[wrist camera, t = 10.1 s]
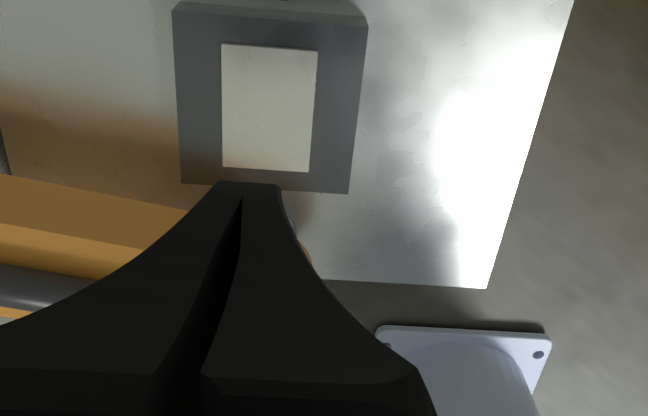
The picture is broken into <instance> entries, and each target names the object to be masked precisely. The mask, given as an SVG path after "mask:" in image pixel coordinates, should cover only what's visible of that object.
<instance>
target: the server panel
mask: <svg viewBox="0 0 648 416" xmlns="http://www.w3.org/2000/svg"><path fill="white" fill-rule="evenodd" d="M573 2H574V0H0V128H1V132H2V137H3V141H4V145H5V149H6V153H7V158H8V162H9V166H10V170H11V175H12V176H17V177H22V178H27V179H32V180H37V181H42V182H47V183H52V184H57V185H62V186H67V187H72V188H77V189H82V190H87V191H92V192H97V193H102V194H107V195H112V196H117V197H122V198H127V199H132V200H137V201H142V202H147V203H152V204H157V205H162V206H167V207H172V208H177V209H182V210H187V211H190V210H191V209H192V208H193V207H194V206H195V205H196V204H197V203H198V201H199V200H200V199H201V198H202V197H203V196H204V195H205V194H206V193H207V192H208V191H209V190H210V189H211V187H212V186H213V185H214V184H216V183H217V182H218V181H219V180H221V181H236V182H250V183H265V184H277V185H278V186H279V187H280V189H281V195H282V201H283V205H284V208H285V211H286V214H287V217H288V219H289V222H290V224H291V227H292V229H293V231H294V233H295V235H296V237H297V240H298V241H300V242H301V243H302V244H303V246H304V247H305V248H306V250H307V251H308V253H309V255H310V257H311V261H312V266H313V268H314V269H315V271H316V272H317V274H318V275H319V277H320V278H321V279H330V280H347V281H364V282H382V283H399V284H416V285H433V286H450V287H468V288H485V289H486V286H487V283H488V279H489V276H490V273H491V270H492V266H493V263H494V260H495V257H496V253H497V250H498V247H499V244H500V240H501V237H502V234H503V231H504V227H505V224H506V221H507V218H508V214H509V211H510V208H511V204H512V201H513V198H514V195H515V191H516V188H517V185H518V182H519V178H520V175H521V172H522V169H523V165H524V162H525V159H526V156H527V152H528V149H529V146H530V143H531V139H532V136H533V133H534V130H535V126H536V123H537V120H538V116H539V113H540V110H541V107H542V103H543V100H544V97H545V94H546V90H547V87H548V84H549V81H550V77H551V74H552V71H553V68H554V64H555V61H556V58H557V55H558V51H559V48H560V45H561V41H562V38H563V35H564V32H565V28H566V25H567V22H568V19H569V15H570V12H571V9H572V6H573Z"/></svg>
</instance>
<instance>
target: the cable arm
mask: <svg viewBox="0 0 648 416" xmlns="http://www.w3.org/2000/svg"><path fill="white" fill-rule="evenodd" d="M188 212H189V211H187V210H182V209H177V208H172V207H167V206H162V205H157V204H152V203H147V202H142V201H137V200H132V199H127V198H122V197H117V196H112V195H107V194H102V193H97V192H92V191H87V190H82V189H77V188H72V187H67V186H62V185H57V184H52V183H47V182H42V181H37V180H32V179H27V178H22V177H17V176H12V175H7V174H2V173H0V316H4V317H10V318H16V319H19V318H21V317H24V316H26V315H29V314H31V313H33V312H36V311H38V310H40V309H43V308H45V307H47V306H49V305H52V304H54V303H56V302H58V301H60V300H62V299H64V298H67V297H69V296H71V295H73V294H74V293H76V292H78V291H80V290H82V289H84V288H85V287H87V286H89V285H91V284H93V283H94V282H96V281H98V280H100V279H102V278H104V277H105V276H107V275H109V274H111V273H112V272H114V271H115V270H117V269H118V268H120V267H122V266H123V265H125V264H126V263H128V262H129V261H131V260H132V259H134V258H135V257H136V256H138V255H139V254H140V253H142V252H143V251H144V250H146V249H147V248H148V247H149V246H151V245H152V244H153V243H154V242H155V241H157V240H158V239H159V238H160V237H161V236H163V235H164V234H165V233H166V232H167V231H168V230H170V229H171V228H172V227H173V226H174V225H175V224H176V223H177V222H178V221H179V220H180V219H181V218H182V217H183V216H184V215H186V214H187V213H188ZM298 242H299V243H300V245H301V247H302V249H303V251H304V253H305V254H306V256H307V258H308V260H309V261H310V263H311V265H312V261H311V257H310V255H309V253H308V251H307V250H306V248H305V247H304V246H303V244H302V243H301V242H300V241H298Z"/></svg>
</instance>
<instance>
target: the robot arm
mask: <svg viewBox="0 0 648 416" xmlns="http://www.w3.org/2000/svg"><path fill="white" fill-rule="evenodd" d="M383 343H388V344H386V345H385V344H383ZM551 348H552V342H551V340H550V338H549V336H548V335H546V334H543V333H525V332H507V331H488V330H470V329H451V328H433V327H414V326H396V325H383V326H381V327H379V328H378V329H377V330H376V332H375V336H374V335H372V334H371V333H370V332H369V331H368V330H367V329H365V328H364V327H363V326H362V325H361V324H360V323H359V322H358V321H357V320H356V319H355V318H354V317H353V316H352V315H351V314H350V313H349V312H348V311H347V310H346V309H345V308H344V307H343V305H342V304H341V303H340V302H339V301H338V300H337V299H336V297H335V296H334V295H333V294H332V292H331V291H330V290H329V289H328V287H327V286H326V285H325V283H324V282H323V281H322V279H321V278H320V277H319V275H318V274H317V272H316V271H315V269H314V268H313V266H312V265H311V263H310V261H309V260H308V258H307V256H306V254H305V253H304V251H303V249H302V247H301V245H300V243H299V242H298V240H297V237H296V235H295V233H294V231H293V229H292V227H291V224H290V222H289V219H288V217H287V214H286V211H285V208H284V205H283V201H282V195H281V189H280V187H279V186H278V185H277V184H265V183H250V182H236V181H221V180H219V181H218V182H217V183H216V184H214V185H213V186H212V187H211V189H210V190H209V191H208V192H207V193H206V194H205V195H204V196H203V197H202V198H201V199H200V200H199V201H198V203H197V204H196V205H195V206H194V207H193V208H192V209H191V210H190V211H189V212H188V213H187V214H186V215H184V216H183V217H182V218H181V219H180V220H179V221H178V222H177V223H176V224H175V225H174V226H173V227H172V228H171V229H170V230H168V231H167V232H166V233H165V234H164V235H163V236H161V237H160V238H159V239H158V240H157V241H155V242H154V243H153V244H152V245H151V246H149V247H148V248H147V249H146V250H144V251H143V252H142V253H140V254H139V255H138V256H136V257H135V258H134V259H132V260H131V261H129V262H128V263H126V264H125V265H123V266H122V267H120V268H118V269H117V270H115V271H114V272H112V273H111V274H109V275H107V276H105V277H104V278H102V279H100V280H98V281H96V282H94V283H93V284H91V285H89V286H87V287H85V288H84V289H82V290H80V291H78V292H76V293H74V294H73V295H71V296H69V297H67V298H64V299H62V300H60V301H58V302H56V303H54V304H52V305H49V306H47V307H45V308H43V309H40V310H38V311H36V312H33V313H31V314H29V315H26V316H24V317H21V318H19V319H16V320H14V321H11V322H9V323H6V324H3V325H0V416H540V415H539V413H538V410H537V408H536V405H535V403H534V400H533V398H532V394H533V391H534V389H535V386H536V384H537V382H538V379H539V377H540V374H541V372H542V370H543V367H544V365H545V362H546V360H547V358H548V355H549V353H550V350H551ZM536 351H538V352H536Z"/></svg>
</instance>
